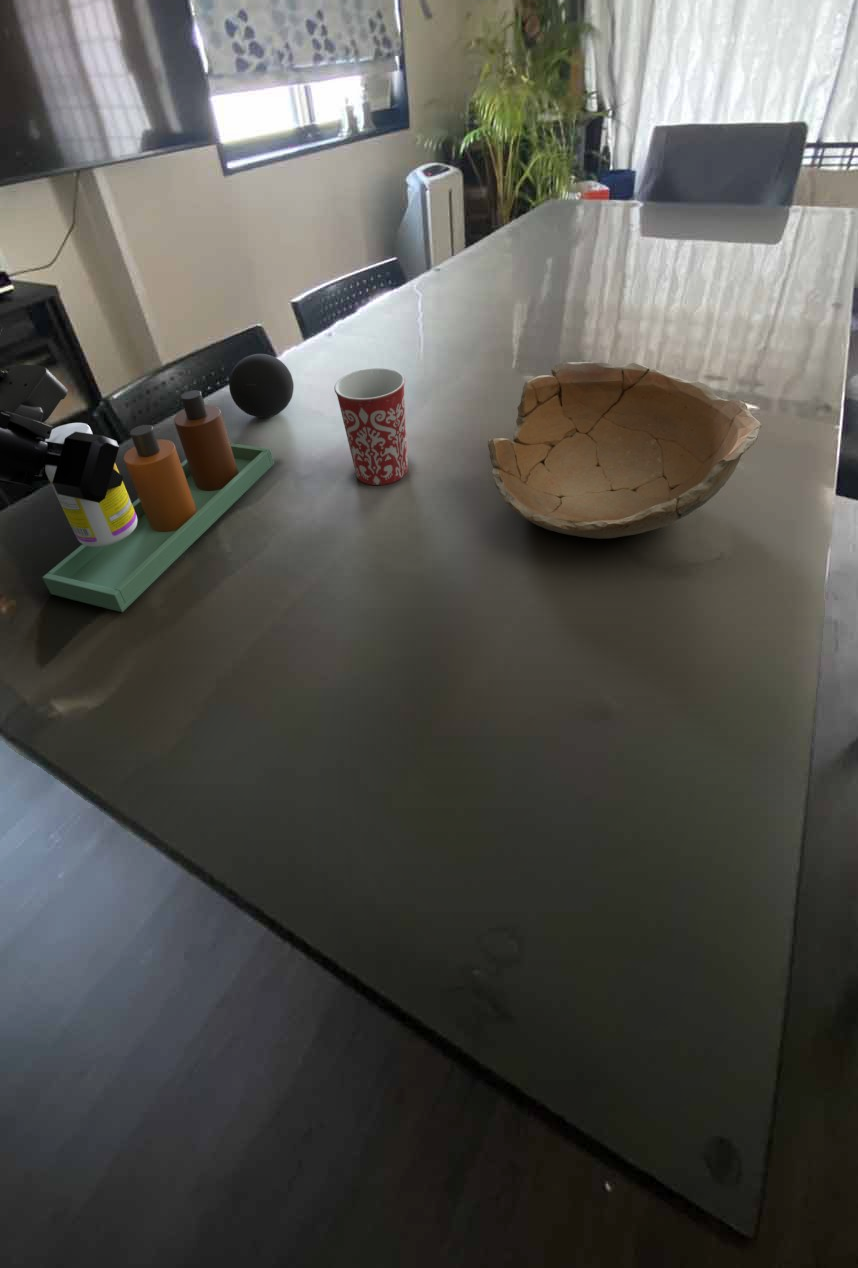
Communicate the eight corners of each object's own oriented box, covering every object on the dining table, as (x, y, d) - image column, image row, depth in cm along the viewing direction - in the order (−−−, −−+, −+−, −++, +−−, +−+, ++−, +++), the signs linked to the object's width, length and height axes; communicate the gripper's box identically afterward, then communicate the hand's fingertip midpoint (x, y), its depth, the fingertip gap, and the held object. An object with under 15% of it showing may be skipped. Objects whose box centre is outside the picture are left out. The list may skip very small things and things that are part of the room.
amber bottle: (177, 535, 85) (144, 445, 77) (139, 528, 87) (103, 439, 79) (206, 508, 89) (177, 420, 82) (170, 501, 91) (138, 415, 84)
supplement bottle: (140, 509, 81) (103, 412, 74) (138, 541, 76) (97, 440, 69) (81, 522, 80) (37, 425, 73) (74, 555, 75) (26, 454, 67)
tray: (122, 612, 75) (114, 595, 73) (50, 594, 78) (41, 577, 77) (274, 464, 98) (270, 448, 97) (213, 455, 102) (209, 440, 100)
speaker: (250, 435, 106) (234, 375, 100) (229, 412, 113) (213, 355, 108) (308, 415, 110) (296, 357, 104) (284, 394, 117) (272, 338, 111)
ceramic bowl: (440, 506, 83) (448, 388, 76) (548, 443, 103) (562, 345, 95) (682, 604, 68) (721, 467, 61) (755, 509, 87) (791, 397, 80)
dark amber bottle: (222, 493, 92) (195, 407, 84) (186, 487, 94) (157, 402, 86) (247, 470, 96) (223, 386, 89) (212, 465, 98) (186, 382, 91)
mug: (409, 490, 90) (398, 397, 82) (342, 489, 91) (326, 398, 84) (423, 442, 100) (414, 355, 92) (363, 442, 102) (349, 356, 94)
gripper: (65, 359, 58) (183, 416, 73) (-81, 344, 65) (54, 399, 79) (28, 484, 57) (156, 517, 72) (-117, 456, 63) (28, 491, 78)
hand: (97, 476), depth 75 cm, fingers closed on supplement bottle, 6 cm apart
